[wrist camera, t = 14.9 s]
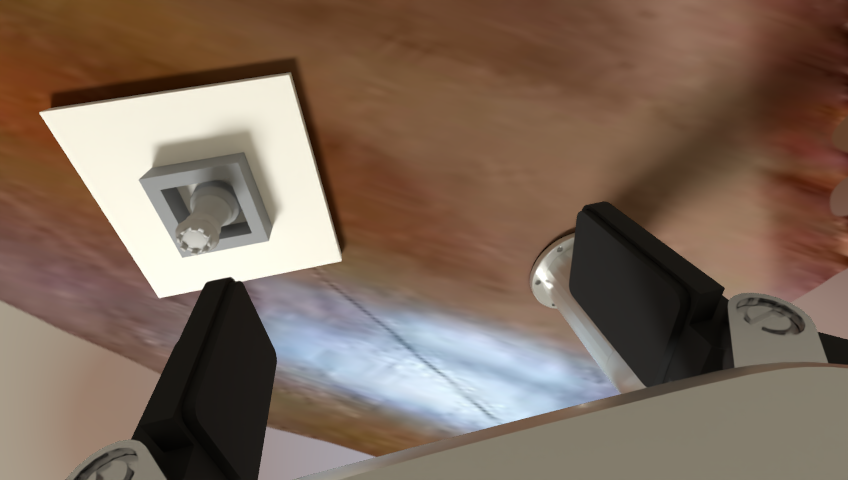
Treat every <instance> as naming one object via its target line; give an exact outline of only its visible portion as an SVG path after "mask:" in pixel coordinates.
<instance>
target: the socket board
mask: <svg viewBox="0 0 848 480" xmlns="http://www.w3.org/2000/svg"><path fill="white" fill-rule="evenodd" d="M39 113H40V115H41V116H42V118H43V119H44V121H45V123H46V124H47V126H48V127H49V129H50V130H51V132H52V133H53V135H54V136H55V138H56V140H57V141H58V143H59V144H60V146H61V147H62V149H63V150H64V152H65V153H66V155H67V157H68V158H69V160H70V161H71V163H72V164H73V166H74V167H75V169H76V170H77V172H78V174H79V175H80V177H81V178H82V180H83V181H84V183H85V184H86V186H87V187H88V189H89V191H90V192H91V194H92V195H93V197H94V198H95V200H96V201H97V203H98V204H99V206H100V208H101V209H102V211H103V212H104V214H105V215H106V217H107V218H108V220H109V221H110V223H111V224H112V226H113V228H114V229H115V231H116V232H117V234H118V235H119V237H120V238H121V240H122V241H123V243H124V245H125V246H126V248H127V249H128V251H129V252H130V254H131V255H132V257H133V258H134V260H135V262H136V263H137V265H138V266H139V268H140V269H141V271H142V272H143V274H144V275H145V277H146V279H147V280H148V282H149V283H150V285H151V286H152V288H153V289H154V291H155V292H156V294H157V296H158V297H159V298H162V297H167V296H172V295H177V294H182V293H187V292H192V291H197V290H201V289H203V287H204V285H205V284H206V282H208V281H212V280H217V279H222V278H227V277H232V278H233V279H234V280H235V281H246V280H251V279H256V278H261V277H266V276H271V275H275V274H280V273H285V272H290V271H295V270H300V269H305V268H310V267H315V266H320V265H325V264H330V263H335V262H340V261H342V253H341V250H340V246H339V243H338V239H337V235H336V232H335V228H334V225H333V221H332V218H331V214H330V210H329V207H328V203H327V200H326V196H325V193H324V189H323V185H322V182H321V178H320V175H319V171H318V168H317V164H316V160H315V157H314V153H313V150H312V146H311V142H310V139H309V135H308V132H307V128H306V125H305V121H304V117H303V114H302V110H301V107H300V103H299V100H298V96H297V92H296V89H295V85H294V82H293V78H292V74H291V72H289V73H282V74H275V75H269V76H262V77H255V78H249V79H242V80H235V81H229V82H222V83H215V84H208V85H202V86H195V87H188V88H182V89H175V90H168V91H162V92H155V93H148V94H142V95H135V96H128V97H122V98H115V99H108V100H102V101H95V102H88V103H82V104H75V105H68V106H62V107H55V108H50V109H47V110H44V111H42V112H39ZM214 180H216V181H221V182H225V183H227V184H229V185H231V186H232V187H233V189H234V191H235V194H236V196H237V198H238V201H239V203H240V206H241V208H242V211H241V212H240V214H239V216H238V217H237V218H236V220H235V221H233V222H231V223H230V224H228V225H225V226H222V227H221V233H220V234H219V243H218V245H217V246H216V248H214V249H213V250H211V251H209V252H206V253H205V254H203V253H198V255H191V252H192V251H190V250H186V251H185V252H184V251H183V250H181V249H180V246H181V244H179V243H177V238H176V236H175V230H176V228H177V226H178V224H180V223H181V222H183V221H184V220H186V219H187V217H188V216H190V215H191V214H192V210H191V208H190V198H191V196H192V194H193V192H194V190H195V188H196V187H197V186H198V185H200V184H201V183H203V182H208V181H214Z"/></svg>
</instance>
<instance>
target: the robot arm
mask: <svg viewBox="0 0 848 480" xmlns="http://www.w3.org/2000/svg"><path fill="white" fill-rule="evenodd" d="M530 287H531V290H532V292H533V294H534V295H535V297H536V298H537V300H538V301H539V302H540V303H542V304H543V305H545V306H547V307H550V308H557V309H558V310H559V311H560V312H561V314H562V315H563V317H564V318H565V319H566V321H567V322H568V324H569V325H570V326H571V328H572V329H573V330H574V332H575V333H576V335H577V336H578V337H579V339H580V340H581V341H582V343H583V344H584V346H585V347H586V348H587V350H588V351H589V353H590V354H591V355H592V357H593V358H594V359H595V361H596V362H597V364H598V365H599V366H600V368H601V369H602V370H603V372H604V373H605V375H606V376H607V377H608V379H609V380H610V381H611V383H612V384H613V386H614V387H615V388H616V389H617V390H618V391H619V393H621V394H620V395H616V396H612V397H608V398H604V399H600V400H596V401H592V402H588V403H584V404H580V405H576V406H572V407H568V408H564V409H560V410H556V411H553V412H549V413H545V414H541V415H537V416H533V417H529V418H525V419H521V420H518V421H514V422H510V423H506V424H502V425H498V426H494V427H490V428H487V429H483V430H479V431H475V432H471V433H467V434H463V435H460V436H456V437H452V438H448V439H444V440H440V441H436V442H432V443H429V444H425V445H421V446H417V447H413V448H410V449H406V450H402V451H398V452H394V453H391V454H387V455H383V456H379V457H376V458H372V459H368V460H364V461H360V462H357V463H353V464H349V465H345V466H341V467H338V468H334V469H330V470H327V471H323V472H319V473H315V474H311V475H308V476H304V477H301V478H297V479H294V480H848V340H847V339H843V338H840V337H836V336H832V335H828V334H824V333H820V332H817V329H816V326H815V324H814V323H813V321H812V319H811V318H810V317H809V316H808V315H807V314H806V313H805V312H804V311H802V310H801V309H800V308H798V307H796V306H795V305H793V304H791V303H789V302H787V301H784V300H782V299H780V298H777V297H773V296H769V295H766V294H759V293H741V294H738V295H735V296H733V297H732V298H731V299H730V300H728V299H726V298H725V297H724V296H723V295H722V294H723V291H724V289H725V288H724V287H723V286H721V285H720V284H719V283H717V282H716V281H714V280H713V279H712V278H710V277H709V276H708V275H706V274H705V273H704V272H702V271H701V270H699V269H698V268H697V267H695V266H694V265H693V264H691V263H690V262H689V261H687V260H686V259H685V258H683V257H682V256H680V255H679V254H678V253H676V252H675V251H674V250H672V249H671V248H670V247H668V246H667V245H665V244H664V243H663V242H661V241H660V240H659V239H657V238H656V237H655V236H653V235H652V234H651V233H649V232H648V231H646V230H645V229H644V228H642V227H641V226H640V225H638V224H637V223H636V222H634V221H633V220H631V219H630V218H629V217H627V216H626V215H625V214H623V213H622V212H621V211H619V210H618V209H616V208H615V207H614V206H612V205H611V204H610V203H608V202H599V203H594V204H589V205H586V206H584V207H583V209H582V211H580V212H579V213H578V215H577V221H576V229H575V233H572V234H570V235H567V236H564V237H563V238H561V239H559V240H557V241H556V242H554V243H553V244H551V245H550V246H549V247H548V248H547V249H546V250H545V251H544V252H543V253H542V254H541V255H540V256H539V258H538V259H537V260H536V262H535V264H534V266H533V268H532V271H531V275H530ZM276 364H277V357H276V352H275V349H274V347H273V345H272V343H271V341H270V339H269V337H268V335H267V332H266V330H265V328H264V326H263V324H262V322H261V320H260V318H259V316H258V314H257V311H256V309H255V307H254V305H253V303H252V301H251V299H250V297H249V295H248V293H247V291H246V288H245V286H244V284H243V283H242V282H241V281H235V280H234V279H233V278H232V277H227V278H222V279H217V280H212V281H208V282H206V284H205V285H204V287H203V289H202V292H201V294H200V296H199V298H198V300H197V302H196V304H195V307H194V309H193V311H192V313H191V315H190V317H189V320H188V322H187V324H186V326H185V328H184V330H183V332H182V335H181V337H180V339H179V341H178V342H177V344H176V345H175V347H174V349H173V351H172V353H171V355H170V357H169V359H168V362H167V364H166V366H165V368H164V370H163V372H162V374H161V377H160V379H159V381H158V383H157V385H156V387H155V390H154V391H153V394H152V396H151V398H150V400H149V402H148V404H147V407H146V409H145V411H144V413H143V415H142V417H141V419H140V421H139V424H138V426H137V428H136V430H135V432H134V435H133V436H132V439H131V440H124V441H118V442H115V443H113V444H111V445H108V446H106V447H104V448H102V449H100V450H99V451H97V452H96V453H94V454H92V455H91V456H89V457H88V458H87V459H86V460H85V461H83V462H82V463H81V464H80V465H79V466H77V467H76V468H75V470H74V471H73V472H72V473H71V474H70V475H69V476H68V477H67V478H66V479H65V480H258V474H259V467H260V462H261V456H262V450H263V443H264V437H265V431H266V425H267V419H268V413H269V407H270V401H271V395H272V389H273V382H274V376H275V370H276Z"/></svg>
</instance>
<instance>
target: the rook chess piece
mask: <svg viewBox="0 0 848 480" xmlns="http://www.w3.org/2000/svg"><path fill="white" fill-rule="evenodd" d="M190 208H191V210H192V214H191V215H190V216H188V217H187V219H186V220H184V221H183V222H181V223H180V224H178V226H177V228H176V230H175V236H176V238H177V243H179V244H181V246H180V249H181V250H183V251H184V252H185V251H186V250H190V251H192V252H191V255H198V253H203V254H205V253H206V252H209V251H211V250H213V249H214V248H216V246H217V245H218V243H219V234H220V233H221V227H222V226H225V225H228V224H230V223H231V222H233V221H235V220H236V218H237V217H238V216H239V214H240V212H241V211H242V208H241V206H240V203H239V201H238V198H237V196H236V194H235V191H234V189H233V187H232V186H231V185H229V184H227V183H225V182H221V181H216V180H214V181H208V182H203V183H201V184H200V185H198V186H197V187H196V188H195V190H194V192H193V194H192V196H191V198H190Z"/></svg>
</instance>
